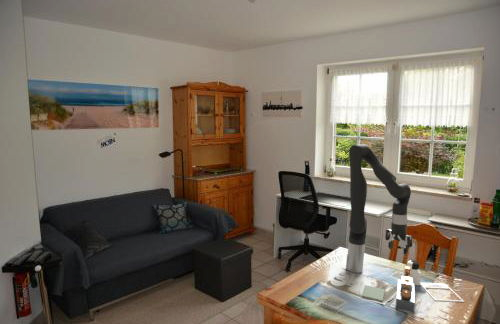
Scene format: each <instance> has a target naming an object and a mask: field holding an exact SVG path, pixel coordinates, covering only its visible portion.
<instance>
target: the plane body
mask: <svg viewBox="0 0 500 324" xmlns="http://www.w3.org/2000/svg"><path fill="white" fill-rule="evenodd" d="M404 267H405V273H404V272H403V273H404V277H405V276H407V277H409V276H410V267H407V265H406V266H404ZM415 286H416V285H415V283H414V282H412V293H411V292H410V291H408V290H401V279H399V278H398V279H397V287H396V300H395V309H397V310H402V311H405V312H411V313H415V306H416V305H415V303H416V297H415V296H416V294H415V293H416V291H415V289H416V288H415Z"/></svg>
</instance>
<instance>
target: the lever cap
mask: <svg viewBox="0 0 500 324" xmlns="http://www.w3.org/2000/svg"><path fill="white" fill-rule="evenodd" d="M400 280H401V290H408V291H410V292H411V293H412V278H410V277H407V276H405V277H404V276H403V275H401V279H400Z"/></svg>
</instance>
